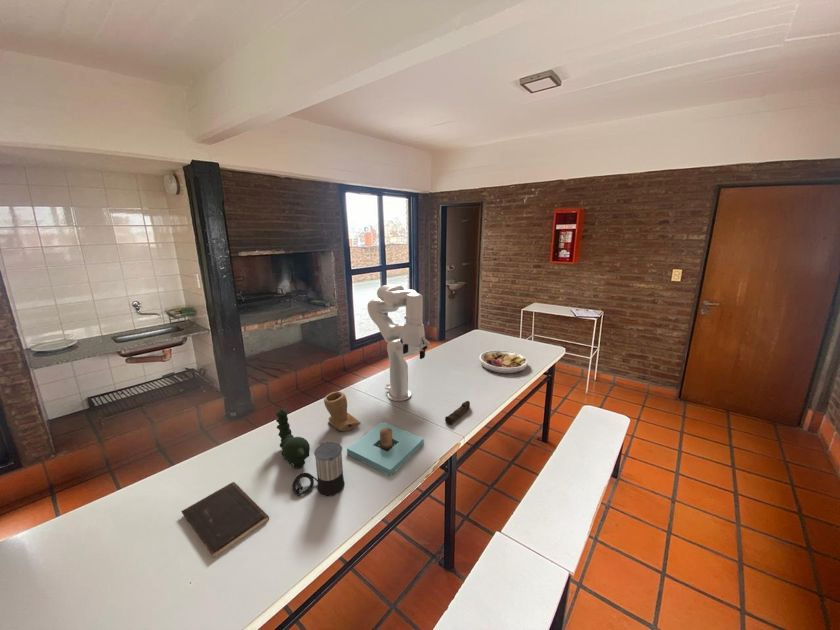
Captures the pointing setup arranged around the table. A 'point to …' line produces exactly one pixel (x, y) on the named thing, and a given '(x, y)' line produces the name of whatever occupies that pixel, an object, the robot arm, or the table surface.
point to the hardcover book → (224, 517)
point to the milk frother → (324, 471)
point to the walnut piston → (386, 439)
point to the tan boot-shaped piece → (339, 411)
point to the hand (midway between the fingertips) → (413, 355)
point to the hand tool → (457, 413)
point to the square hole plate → (380, 458)
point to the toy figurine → (291, 442)
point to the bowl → (503, 361)
